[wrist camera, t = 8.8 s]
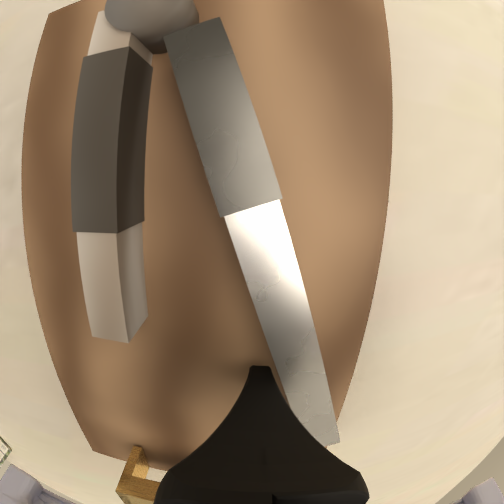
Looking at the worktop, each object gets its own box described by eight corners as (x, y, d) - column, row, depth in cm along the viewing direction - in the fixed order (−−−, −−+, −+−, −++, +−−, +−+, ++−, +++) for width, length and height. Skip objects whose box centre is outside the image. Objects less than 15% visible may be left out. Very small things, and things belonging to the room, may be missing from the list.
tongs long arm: (300, 421, 13) (304, 452, 11) (179, 59, 9) (162, 36, 6) (334, 412, 13) (342, 442, 11) (226, 43, 8) (219, 16, 6)
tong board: (98, 440, 16) (81, 474, 12) (60, 20, 9) (20, -3, 5) (310, 467, 16) (316, 508, 12) (373, 4, 8) (403, -37, 5)
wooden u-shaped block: (141, 464, 15) (126, 506, 11) (133, 445, 14) (115, 491, 10) (224, 478, 14) (219, 524, 11) (223, 460, 14) (217, 512, 10)
